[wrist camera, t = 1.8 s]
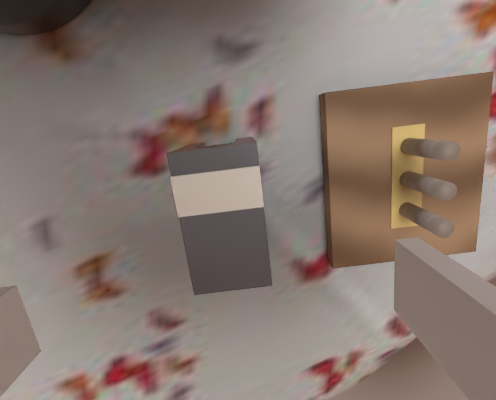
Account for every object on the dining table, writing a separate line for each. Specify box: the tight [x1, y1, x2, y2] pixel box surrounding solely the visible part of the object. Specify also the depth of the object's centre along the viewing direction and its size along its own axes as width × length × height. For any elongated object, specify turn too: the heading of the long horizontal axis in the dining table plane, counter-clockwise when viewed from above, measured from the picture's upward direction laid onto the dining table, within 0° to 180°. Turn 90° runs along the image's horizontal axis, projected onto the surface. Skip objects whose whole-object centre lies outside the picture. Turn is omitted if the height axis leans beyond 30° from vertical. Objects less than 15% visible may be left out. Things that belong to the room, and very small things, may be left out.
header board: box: [320, 72, 493, 268], centre depth 20 cm, size 14×12×6 cm
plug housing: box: [167, 137, 272, 295], centre depth 20 cm, size 9×5×7 cm, turn 7°
